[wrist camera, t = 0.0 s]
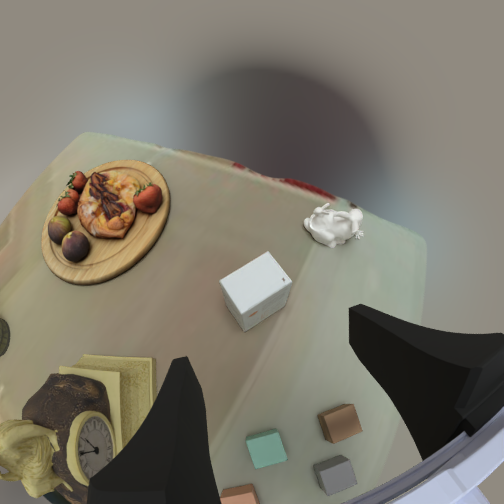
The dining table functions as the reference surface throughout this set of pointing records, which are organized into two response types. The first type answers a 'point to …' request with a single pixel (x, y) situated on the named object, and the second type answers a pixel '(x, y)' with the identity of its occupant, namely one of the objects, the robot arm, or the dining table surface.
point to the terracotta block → (239, 495)
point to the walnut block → (340, 423)
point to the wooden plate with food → (105, 221)
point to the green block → (266, 448)
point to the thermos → (4, 336)
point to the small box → (256, 290)
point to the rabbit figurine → (334, 225)
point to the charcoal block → (335, 475)
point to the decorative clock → (77, 424)
